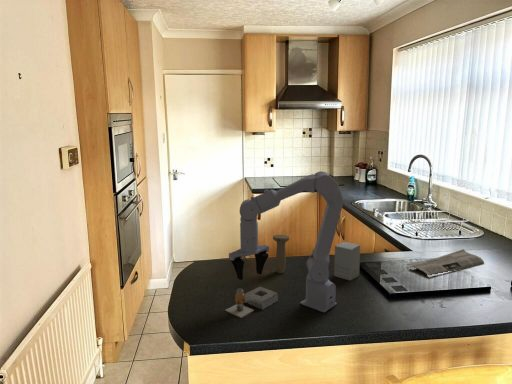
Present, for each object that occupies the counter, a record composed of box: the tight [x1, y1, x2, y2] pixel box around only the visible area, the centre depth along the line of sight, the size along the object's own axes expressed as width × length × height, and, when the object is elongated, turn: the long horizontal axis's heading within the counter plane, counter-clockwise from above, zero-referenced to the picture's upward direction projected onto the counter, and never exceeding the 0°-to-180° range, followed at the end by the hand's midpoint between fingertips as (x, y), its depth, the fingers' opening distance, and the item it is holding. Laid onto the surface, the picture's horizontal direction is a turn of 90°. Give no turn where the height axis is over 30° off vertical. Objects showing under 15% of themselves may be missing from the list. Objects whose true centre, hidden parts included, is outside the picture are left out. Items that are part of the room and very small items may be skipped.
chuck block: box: [244, 286, 279, 310], centre depth 132 cm, size 8×8×3 cm
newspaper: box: [406, 248, 485, 275], centre depth 164 cm, size 35×12×4 cm, turn 117°
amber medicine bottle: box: [234, 287, 245, 312], centre depth 125 cm, size 3×3×7 cm
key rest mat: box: [225, 303, 255, 319], centre depth 126 cm, size 7×6×1 cm
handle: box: [272, 234, 290, 274], centre depth 157 cm, size 5×6×15 cm
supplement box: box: [334, 241, 361, 281], centre depth 153 cm, size 7×7×13 cm
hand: (249, 276), depth 129 cm, fingers open, 7 cm apart
